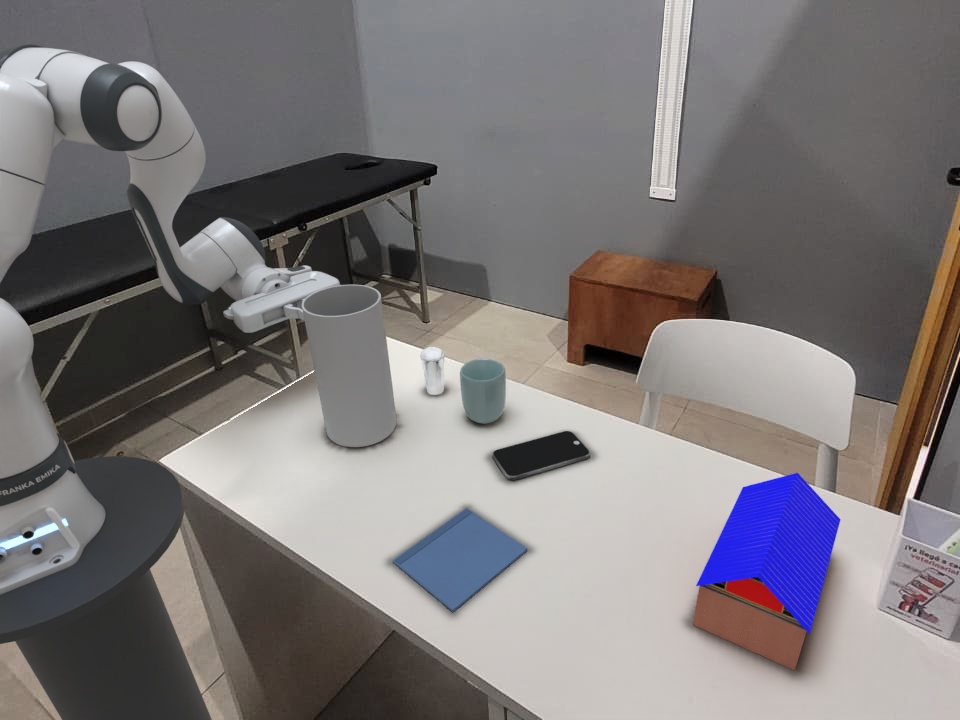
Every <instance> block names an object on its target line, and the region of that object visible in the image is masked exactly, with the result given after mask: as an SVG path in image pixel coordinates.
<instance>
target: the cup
mask: <svg viewBox="0 0 960 720" xmlns="http://www.w3.org/2000/svg"><path fill="white" fill-rule="evenodd" d="M506 372H507V371H506V368H505V365H503V364H502V363H501V362H500V361H497V360H496V359H491V358H476V359H472V360H469V361H468V362H466V363H464V364H463V365H462V366H461V368H460V370H459V384H460V385H459V386H460V395H461V396H460V397H461V402H462V406H463V407H462V408H463V410H464V413H465V415H466V416H467V417H468V418H469V419H470V420H471V421H473V422H475V423H478V424H482V425H486V424H491V423H493V422H496V421H497V420H498V419H500V417H501V416H502V414H503V413H504V411H505V407H506V400H507V376H506V375H507V373H506Z"/></svg>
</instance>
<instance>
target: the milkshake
mask: <svg viewBox="0 0 960 720" xmlns="http://www.w3.org/2000/svg"><path fill="white" fill-rule="evenodd" d="M419 358H420V363H421V367H422V371H423V375H424V381H425V386H426V387H425V388H426V391H427V394H428V395H430V396H440V395H442V394H443V392H444V391H445V350H444V349H441V348H439V347H437V346H427V347H426V348H424V349H422V351H421V353H420V355H419Z"/></svg>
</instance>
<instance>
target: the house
mask: <svg viewBox="0 0 960 720" xmlns="http://www.w3.org/2000/svg"><path fill="white" fill-rule="evenodd" d="M840 523H841V518H840V517H839V516H838V515H837V514H836V513H835V512H834V510H833V509H832V508H830V506H829V505H828V504H827V503H826V502H825V500H823V498H822V497H821V496H820V495H819V494H818V493H817V492H816V491H815V490H814V489H813V487H812V486H810V484H809V483H807V481H806V480H805V479H804V478H803V477H802V476H801V474H800V473H798V472H795V473H791V474H788V475H787V474H786V475H784V476H780V477H776V478H771V479H768V480H765V481H761V482H756V483H753V484H749V485H745V486H743V487H742V488H741V490H740V493H739V494H738V496H737V499H736V501H735V503H734V505H733V507H732V509H731V511H730V514H729V515H728V518H727V520H726V522H725V524H724V526H723V528H722V530H721V532H720V534H719V537H718V539H717V541H716V543H715V545H714V547H713V549H712V551H711V553H710V555H709V557H708V559H707V561H706V563H705V566H704V568H703V570H702V572H701V574H700V576H699V578H698V580H697V583H696V585H695V587H698V593H697V598H696V604H695V610H694V616H693V621H692V625H693V626H695V627H698V628H699V629H702V630H704V631H706V632H708V633H711V634H712V635H715V636H717V637H720V638H721V639H723V640H726V641H728V642H730V643H733V644H735V645H737V646H739V647H742V648H744V649H746V650H748V651H750V652H752V653H755V654H757V655H759V656H762V657H764V658H765V659H768V660H771V661H773V662H774V663H776V664H779V665H782V666H784V667H786V668H787V669H790V670H792V671H795V670H796V668H797V664H798V660H799V657H800V654H801V651H802V648H803V645H804V641H805V638H806V636H807V635H806V634H807V633H808V634H809V635H810V634H811V632H812V628H813V623H814V620H815V616H816V612H817V609H818V605H819V602H820V598H821V593H822V590H823V586H824V583H825V578H826V575H827V572H828V571H827V570H828V567H829V565H830V560H831V557H832V553H833V549H834V545H835V542H836V538H837V534H838V530H839V527H840ZM755 578H758V579H759V580H757V579H755ZM716 584H719V585H722V586H724V588H723V587H720V586H718V585H716ZM784 611H785V612H787V613H790V614H791V616H790V615H788V614H785V613H784Z"/></svg>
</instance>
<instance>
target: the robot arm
mask: <svg viewBox="0 0 960 720" xmlns="http://www.w3.org/2000/svg"><path fill="white" fill-rule="evenodd" d="M62 140H65V141H67V142H71V143H75V144H80V145H85V146H91V147H97V148H98V147H99V148H103V149H105V150H108V151H112V152H124V153H125V155H126V157H127V160H128V163H129V170H130V171H129V173H130V179H129V184H128V187H127V188H126V197H127V201H128V205H129V207H130V210H131V213H132V214H133V217H134V220H135V222H136V225H137V227H138V229H139V231H140V233H141V235H142V238H143V240H144V243H145V244H146V247H147V249H148V252H149V253H150V256H151V258H152V260H153V263H154V266H155V271H156V274H157V277H158V280H159V281H160V284H161V285H162V287H163V289H164V290H165V291H166V293H167V294H168V295H169V296H170V297H172V298H173V299H174V300H175V301H177V302H178V303H179V304H182V305H203V304H204V303H206V301H207V300H208V299H209V298H210V297H211V296H212V295H213V294H214V293H215V292H216V291H217V290H219V289H220V288H221V290H222V291H223V292H224V293H225V294H227V296H229V297H230V298H231V299H233V300H234V302H233V303H231V304H230V305H229V306H228V307H227V308H226V309H225V310H223V311H222V312H223V313H222V315H223V316H224V317H225V318H226V319H228V320H233V323H234V324H235V326H236V327H237V328H238V329H239V330H241V331H242V332H243V333H245V334H247V333H248V334H249V333H250V334H252V333H255V332H258V331H261V330H263V329H265V328H268V327H271V326H273V325H276V324H278V323H282V322H284V321H286V320H290V319H291V320H292V319H293V320H294V319H295V320H301V321H304V316H303V311H302V302H303V300H304V299H305V298H306V297H307V296H309V295H310V294H312V293H314V292H316V291H319V290H322V289H325V288H329V287H333V286H339V285H341V282H340V280H339V279H338V278H337V277H334V276H332V275H331V274H328V273H326V272H323V271H318V270H313V269H312V267H311V266H309V265H299V266H293V267H284V268H283V267H282V268H281V267H275V268H272V267H268V266H267V265H266V263H267V256H266V251H265V247H264V245H263V244H262V241H261V240H260V238H259V237H258V236H257V235H256V233H255V232H254V231H253V230H252V229H251V228H250V227H249V226H247V225H246V224H245V223H243V222H241V221H239V220H237V219H234V218H230V217H225V216H224V217H223V216H222V217H221V216H220V217H218V218H217V219H216V220H214V221H213V222H211V223H210V224H208V225H207V226H206V227H205V228H203V229H202V230H201V231H200V232H198V233H197V234H196V235H194V236H193V237H192V238H191V239H189V240H188V241H186V242H185V243H183V245H181V246H180V244H179V242H178V240H177V237H176V235H175V232H174V230H173V221H174V217H175V215H176V213H177V211H178V209H179V208H180V206H181V204H182V203H183V202H184V200H185V199H186V197H187V196H188V195H189V194H190V192H191V191H192V190H193V189H194V188H195V187H196V185H197V184H198V182H199V181H200V179H201V177H202V175H203V173H204V169H205V166H206V162H207V161H206V160H207V153H206V149H205V145H204V142H203V140H202V137H201V135H200V132H199V131H198V128H197V126H196V125H195V123H194V121H193V119H192V118H191V115H190V114H189V112H188V110H187V109H186V107H185V105H184V104H183V102H182V101H181V99H180V98H179V96H178V95H177V93H176V92H175V91H174V89H173V88H172V87H171V85H170V84H169V83H168V82H167V80H166V79H165V78H164V77H163V76H162V73H160V72H159V71H158V70H157V69H156V68H154V67H152V66H151V65H150V64H147V63H145V62H141V61H132V60H131V61H124V62H123V61H122V62H119V63H109V62H107V61H103V60H101V59H98V58H95V57H91V56H89V55H88V56H87V55H85V54H83V53H81V52H77V51H73V50H68V49H62V48H61V49H60V48H52V47H44V46H42V45H39V44H38V45H37V44H32V43H31V44H29V43H28V44H15V45H11V46H7V47H5V48H3V49H1V50H0V284H1V283H2V281H3V279H4V278H5V276H6V274H7V272H8V270H9V269H10V267H11V266H12V264H13V262H14V261H15V260H16V259H17V258H18V257H19V256H20V255H21V254H23V253H24V252H25V251H26V250H27V248H28V247H29V245H30V243H31V241H32V236H33V233H34V229H35V226H36V222H37V219H38V214H39V211H40V207H41V205H42V204H41V203H42V201H43V196H44V192H45V189H46V184H47V180H48V177H49V172H50V168H51V163H52V155H53V151H54V150H55V148H56V147H57V145H59V143H60V142H61V141H62ZM304 322H305V321H304ZM34 342H35V341H34V336H33V333H32V330H31V327H30V326H29V325H28V322H26V320H25V319H24V317H22V316H21V314H20V313H19V312H18V311H17V309H15V308H14V306H13V305H11V303H9V302H8V301H7V300H5V299H3V298H2V297H0V595H1V594H4V593H6V592H9V591H11V590H13V589H16V588H18V587H21V586H23V585H26V584H28V583H31V582H33V581H36V580H38V579H41V578H43V577H46V576H48V575H51V574H53V573H56V572H58V571H61V570H63V569H66V568H68V567H70V566H72V565H74V564H75V563H76V562H77V561H78V560H79V558H80V556H81V554H82V552H83V549H84V547H85V546H86V545H87V544H88V543H89V542H90V541H91V540H92V539H93V537H94V536H95V535H96V534H97V533H98V532H99V530H100V529H101V527H102V525H103V523H104V520H105V509H104V507H103V506H102V505H101V504H100V503H99V502H98V501H97V500H96V499H95V498H94V497H93V496H92V495H91V493H90V492H89V491H88V489H87V488H86V487H85V485H84V484H83V483H82V481H81V480H80V478H79V476H78V475H77V473H76V468H75V465H74V464H75V463H74V461H75V460H74V458H73V455H72V453H71V450H70V449H69V447H68V445H67V442H66V441H65V440H64V439H63V437H62V436H61V435H60V433H58V432H57V431H56V429H55V426H54V425H53V422H52V420H51V418H50V415H49V413H48V411H47V408H46V406H45V404H44V402H43V399H42V397H41V394H40V392H39V389H38V384H37V380H36V376H35V369H34V364H33V363H34V362H33V359H32V357H33V352H34V346H35V343H34Z"/></svg>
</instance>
